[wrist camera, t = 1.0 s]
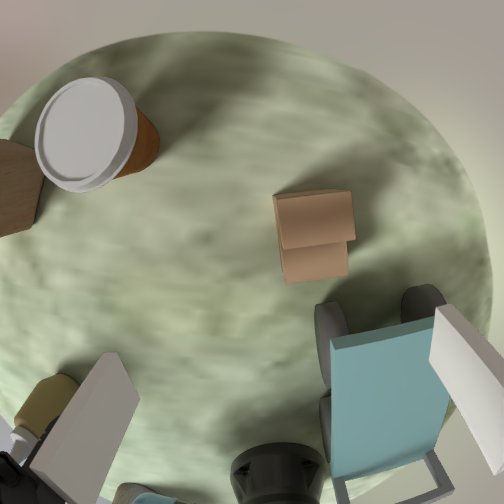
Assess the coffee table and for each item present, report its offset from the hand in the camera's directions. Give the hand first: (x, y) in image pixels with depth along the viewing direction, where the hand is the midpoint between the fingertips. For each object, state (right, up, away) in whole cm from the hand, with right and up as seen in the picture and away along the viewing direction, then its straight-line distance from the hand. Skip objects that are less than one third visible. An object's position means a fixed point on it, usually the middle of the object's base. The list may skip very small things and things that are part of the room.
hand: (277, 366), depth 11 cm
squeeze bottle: (-29, -17, +27) cm, 43 cm away
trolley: (+14, -10, +25) cm, 30 cm away
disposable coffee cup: (-14, +16, +19) cm, 29 cm away
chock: (+5, +7, +21) cm, 23 cm away
